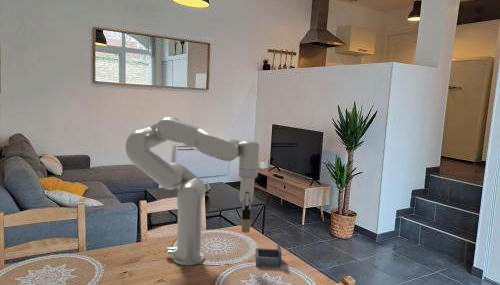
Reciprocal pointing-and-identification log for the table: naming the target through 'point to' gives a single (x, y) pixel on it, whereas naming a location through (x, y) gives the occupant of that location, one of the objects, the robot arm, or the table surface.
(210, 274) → the table surface
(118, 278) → the table surface
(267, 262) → the box
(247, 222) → the handle
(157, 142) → the robot arm
